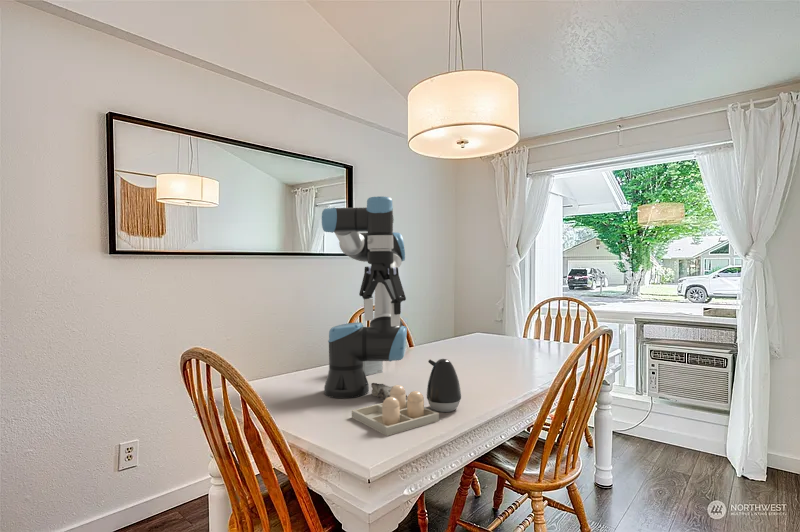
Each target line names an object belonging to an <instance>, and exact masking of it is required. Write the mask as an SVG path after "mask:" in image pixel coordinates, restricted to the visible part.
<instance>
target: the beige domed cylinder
mask: <svg viewBox="0 0 800 532" xmlns="http://www.w3.org/2000/svg"><path fill="white" fill-rule="evenodd" d="M391 387H392V388H391V390H390V397H394V398H396V399H397V400H398V401H399V404H400V410H401V409H405V408H406V401H407V400H406V395H407V393H406V389H405V388H404V386H402V385H400V384H395V385H393V386H391Z"/></svg>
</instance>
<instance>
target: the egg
mask: <svg viewBox="0 0 800 532" xmlns="http://www.w3.org/2000/svg"><path fill="white" fill-rule="evenodd" d="M382 403H383V404H382V422H383V424H384V425H386V426H390V425H394V424H397V423H400V404H399V401H398V400H397V399H396V398H394V397H388V398H386V399H385V400H384V401H383V400H382Z"/></svg>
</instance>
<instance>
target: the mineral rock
mask: <svg viewBox="0 0 800 532" xmlns="http://www.w3.org/2000/svg"><path fill="white" fill-rule="evenodd" d="M370 386H371V388H372V389H371V396H372V397H373V396H375V397H378V398H379V399H381V401H382V402H383V401H384V400H385V399H386V398H388V397H390V390H391V388H392V387H393V386H390V385H389V386H388V385H386V384H384V383H377V382H372V383H371V385H370ZM407 397H408V395H407V394H406V401H407Z"/></svg>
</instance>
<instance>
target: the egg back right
mask: <svg viewBox="0 0 800 532" xmlns="http://www.w3.org/2000/svg"><path fill="white" fill-rule="evenodd" d="M406 401H407V416H408V417H410V418H412V419H415V418H419V417H423V416H424V408H425V400H424V395H423V393H421V392H420V391H418V390H415V391H414V390H413V391H411V392H410V393H408V395H407V400H406Z"/></svg>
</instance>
